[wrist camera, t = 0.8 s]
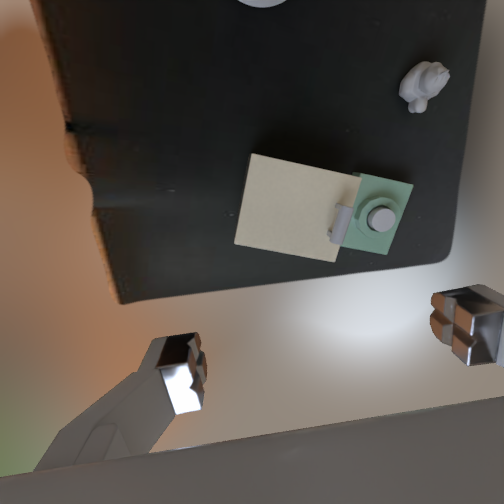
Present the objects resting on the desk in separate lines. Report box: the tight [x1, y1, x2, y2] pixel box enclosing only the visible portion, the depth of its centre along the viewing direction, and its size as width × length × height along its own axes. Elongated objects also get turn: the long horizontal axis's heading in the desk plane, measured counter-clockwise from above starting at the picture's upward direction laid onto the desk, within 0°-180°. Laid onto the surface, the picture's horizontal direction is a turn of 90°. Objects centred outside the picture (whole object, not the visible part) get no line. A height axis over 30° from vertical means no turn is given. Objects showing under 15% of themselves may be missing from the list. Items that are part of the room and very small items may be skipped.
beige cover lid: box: [234, 153, 362, 262], centre depth 37 cm, size 15×13×5 cm
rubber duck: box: [399, 62, 450, 113], centre depth 38 cm, size 5×7×8 cm
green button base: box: [340, 172, 414, 255], centre depth 46 cm, size 12×9×5 cm
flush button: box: [367, 207, 395, 232], centre depth 43 cm, size 4×4×2 cm
